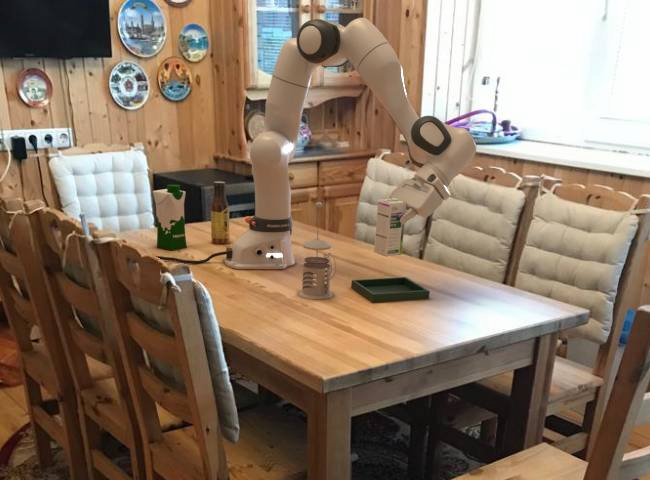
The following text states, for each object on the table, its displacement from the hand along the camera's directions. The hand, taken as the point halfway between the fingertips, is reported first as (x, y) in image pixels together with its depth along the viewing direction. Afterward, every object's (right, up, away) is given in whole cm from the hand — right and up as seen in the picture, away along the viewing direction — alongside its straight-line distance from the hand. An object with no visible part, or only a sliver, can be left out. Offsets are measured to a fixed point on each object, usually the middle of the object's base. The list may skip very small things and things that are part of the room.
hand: (394, 220), depth 226 cm
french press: (-21, -20, +5) cm, 30 cm away
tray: (-1, -18, +9) cm, 20 cm away
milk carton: (-71, +7, +48) cm, 86 cm away
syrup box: (-2, -8, +4) cm, 9 cm away
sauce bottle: (-56, +12, +58) cm, 81 cm away
